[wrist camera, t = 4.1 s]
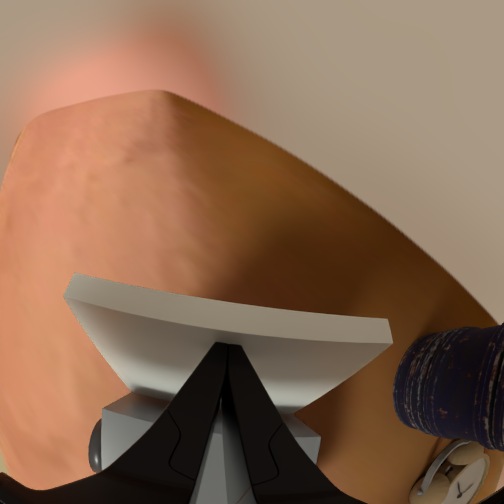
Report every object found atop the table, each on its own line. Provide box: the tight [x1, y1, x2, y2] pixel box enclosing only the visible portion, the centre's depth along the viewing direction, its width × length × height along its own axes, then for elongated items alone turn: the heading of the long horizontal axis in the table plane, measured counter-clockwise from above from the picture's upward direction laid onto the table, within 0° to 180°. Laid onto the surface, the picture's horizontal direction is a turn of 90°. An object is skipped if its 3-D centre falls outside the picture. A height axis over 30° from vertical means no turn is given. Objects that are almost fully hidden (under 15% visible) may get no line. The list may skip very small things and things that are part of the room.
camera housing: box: [89, 392, 321, 504], centre depth 13 cm, size 8×13×6 cm, turn 83°
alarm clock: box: [409, 439, 490, 504], centre depth 14 cm, size 11×5×15 cm
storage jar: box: [393, 323, 504, 451], centre depth 13 cm, size 10×10×15 cm
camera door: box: [63, 273, 393, 414], centre depth 13 cm, size 2×11×12 cm, turn 82°
